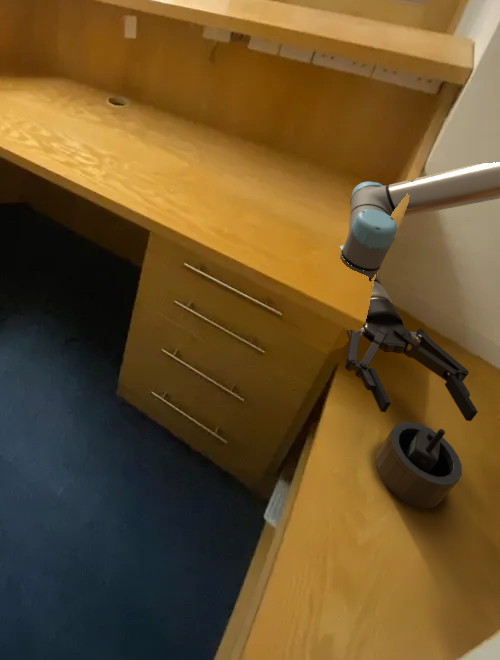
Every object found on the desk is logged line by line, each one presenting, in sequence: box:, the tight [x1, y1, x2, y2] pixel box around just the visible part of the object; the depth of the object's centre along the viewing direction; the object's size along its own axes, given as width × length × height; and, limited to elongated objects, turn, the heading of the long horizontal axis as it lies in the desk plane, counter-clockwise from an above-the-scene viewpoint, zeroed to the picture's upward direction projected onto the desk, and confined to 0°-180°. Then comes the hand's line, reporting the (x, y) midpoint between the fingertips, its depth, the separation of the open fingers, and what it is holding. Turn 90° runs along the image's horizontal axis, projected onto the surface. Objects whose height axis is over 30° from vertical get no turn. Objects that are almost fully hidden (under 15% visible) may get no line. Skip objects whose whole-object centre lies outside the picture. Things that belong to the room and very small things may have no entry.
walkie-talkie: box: [404, 428, 446, 474], centre depth 84 cm, size 5×3×15 cm
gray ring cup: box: [375, 421, 463, 509], centre depth 87 cm, size 10×10×8 cm
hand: (428, 412), depth 84 cm, fingers open, 13 cm apart
